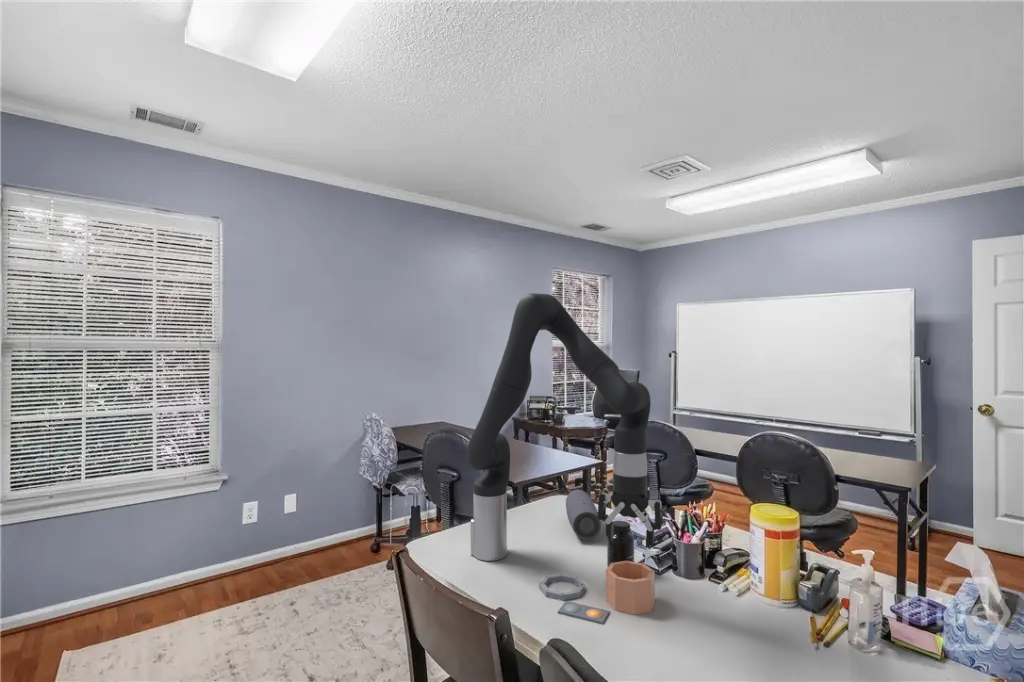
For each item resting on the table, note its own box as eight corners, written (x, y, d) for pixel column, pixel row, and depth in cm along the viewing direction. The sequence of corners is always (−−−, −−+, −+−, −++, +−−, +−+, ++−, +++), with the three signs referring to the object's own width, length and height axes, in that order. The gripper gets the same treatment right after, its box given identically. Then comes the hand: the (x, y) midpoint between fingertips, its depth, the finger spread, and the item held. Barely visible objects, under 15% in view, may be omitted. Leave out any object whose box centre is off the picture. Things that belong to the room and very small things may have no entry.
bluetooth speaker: (603, 544, 147) (603, 509, 147) (571, 544, 147) (571, 509, 147) (592, 517, 170) (591, 487, 170) (564, 517, 170) (564, 487, 170)
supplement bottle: (635, 577, 126) (634, 529, 126) (607, 575, 127) (606, 527, 127) (633, 565, 133) (633, 519, 133) (607, 563, 134) (607, 518, 134)
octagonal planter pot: (602, 607, 112) (602, 575, 112) (614, 587, 120) (614, 558, 121) (648, 618, 107) (648, 585, 107) (657, 596, 116) (657, 566, 116)
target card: (557, 613, 109) (557, 610, 109) (565, 602, 114) (565, 600, 114) (602, 624, 105) (602, 621, 105) (609, 612, 109) (609, 610, 109)
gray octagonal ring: (534, 593, 118) (534, 588, 118) (550, 576, 127) (550, 571, 127) (575, 603, 113) (575, 598, 113) (588, 584, 122) (588, 579, 122)
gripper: (594, 471, 114) (594, 543, 114) (659, 479, 107) (658, 555, 107) (603, 463, 121) (603, 531, 121) (665, 471, 114) (664, 542, 114)
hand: (629, 542), depth 114 cm, fingers open, 8 cm apart
